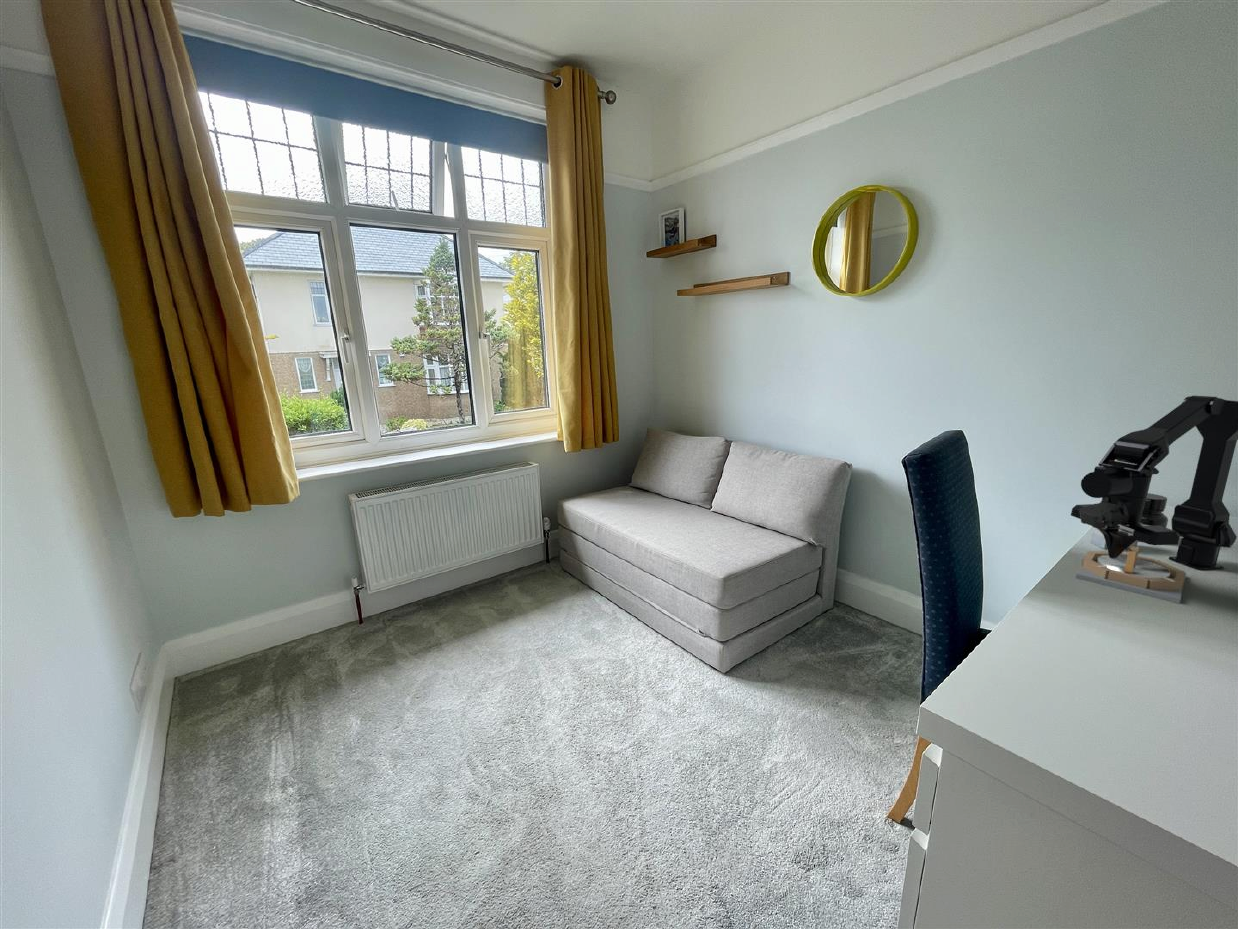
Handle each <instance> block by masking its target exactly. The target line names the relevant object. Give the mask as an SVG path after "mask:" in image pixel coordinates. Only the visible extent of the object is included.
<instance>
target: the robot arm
mask: <svg viewBox="0 0 1238 929" xmlns="http://www.w3.org/2000/svg"><path fill="white" fill-rule="evenodd" d="M1193 428H1196V429H1197V431H1198V432H1199V434H1200V435H1201V437H1202V443H1201V448H1200V452H1199V455H1198V461H1197V464H1196V470H1195V474H1194V477H1193V481H1192V482H1193V483H1192V486H1191V490H1190V495H1189V498H1188V499H1186V500H1185V501H1183V502H1182V503H1181V504H1176V505H1175V507H1174V511H1173V515H1172V517H1171V520H1170V522H1171V528H1168V527H1166V528H1165V527H1162V526H1159V525H1158V526H1142V525H1139V524H1140V523H1146V520H1147V518H1144V517H1142V514H1143V510H1144V506H1145V505H1151V501H1150V500H1147V499H1146V498H1147V494H1148V493H1149V489H1150V486H1151V481H1152V478H1153V475H1158V474H1159V473H1160V470H1159V469H1158V468H1156V467H1157V465H1159V464H1160V463H1161V462H1162V461H1163V460H1164V459H1165V458H1166V457H1167V456H1168V455H1169V454H1170V446H1171V445H1172V444H1173V443H1175V442H1176V441H1177V440H1179V439H1180V438H1181V437H1183V436H1184V435H1185V434H1186V433H1188V432H1189V431H1191V430H1192V429H1193ZM1237 442H1238V400H1228V399H1223V398H1221V397H1218V396H1208V395H1190V396H1187V397H1185V398H1184V399H1183V401H1182V402H1181V403H1180V404H1179V405H1178V406H1177V407H1175V408H1174V409H1172V410H1171V411H1170V412H1167V414H1165V415H1164V416H1162V417H1161V418H1159V419H1158V420H1157V421H1156V422H1154V423H1153V424H1151V425H1150V426H1149V427H1147V428H1144V429H1141V430H1140V429H1139V430H1136V431H1132V432H1129V433H1127V434H1125V435H1123V436H1121V437H1119V438H1118V439H1117V440H1116V441H1115V442H1114V443H1112V446H1110V448H1109V449H1108V451H1107V452H1105V454H1104V456H1103V457H1102V458H1101V459H1100V461H1099V462H1098V464H1097V466H1095V467H1094V471H1092V472H1088V473H1087V474H1085V475H1084V476H1083V478H1082V479H1081V480H1080V487H1081V490H1082V492H1084V494H1085V495H1086V496H1089V497H1091V498H1093V499H1101V500H1100V502H1097V503H1092V504H1091V503H1090V504H1088V503H1086V504H1085V503H1084V504H1076V505H1074V506H1073V507H1072V508H1071V512H1070V516H1071V517H1073V518H1077V519H1079V520H1080V522H1081V523H1082V524H1084V525H1088V526H1091V527H1092V528H1097V529H1098V530H1099V531H1100V532H1102V533H1103V535H1104V538H1105V541H1106V545H1107V549H1106V550H1107V551H1108V553H1109V557H1110V558H1112V559H1113V558H1117V557H1118V556H1119V555H1120V554H1121V553H1124V551H1126V550H1128V549H1127V548H1128V547H1129V546H1130V545H1131V544H1132V543H1134V542H1135V541H1136V540H1138V542H1141V543H1143V544H1147V545H1152V546H1170V545H1172V546H1173V545H1178V548H1177V552H1176V556H1168V559H1169V560H1171V561H1174V562H1177V563H1180V564H1183V565H1185V566H1188V567H1191V568H1193V569H1196V570H1217V569H1220V570H1221V569H1225V566H1224V565H1222V564H1219V563H1217V562H1218V558H1219V554H1220V550H1221V548H1232V546H1233V545H1234V544H1235V543H1236V540H1237V535H1236V533H1235V532H1234V530H1233V528H1232V526H1231V524H1230V515H1231V514H1230V512H1229V510H1228V509H1227V507H1226V506H1225V504H1224V503H1223V502H1224V501H1223V499H1224V494H1225V490H1226V486H1227V482H1228V478H1229V474H1230V469H1231V466H1232V462H1233V457H1234V453H1235V449H1236V445H1237ZM1128 525H1129V526H1128ZM1180 538H1181V539H1180ZM1179 542H1180V543H1179Z"/></svg>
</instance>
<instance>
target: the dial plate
mask: <svg viewBox="0 0 1238 929" xmlns="http://www.w3.org/2000/svg"><path fill="white" fill-rule="evenodd" d="M1103 555H1109V553H1108V550H1107V551H1102V550H1101V551H1100V550H1099V551H1098V550H1097V551H1094V550H1093V551H1091V550H1089V551H1087V552H1086V554H1085V555H1084V556H1083V558H1082V562H1081V566H1080V568H1079V570H1078V571H1077V573H1076V575H1075V578H1076V579H1080V580H1083V581H1087V582H1092V583H1095V584H1099V585H1103V586H1108V587H1113V588H1116V589H1120V590H1123V589H1124V591H1127V590H1128V591H1127V592H1132V593H1135V594H1141V595H1143V596H1148V597H1152V598H1156V599H1160V600H1165V601H1169V602H1172V603H1177V604H1180V603H1181V600H1182V593H1183V590H1184V584H1185V580H1186V575H1187V572H1185V570H1182V569H1180V568H1178V567H1175V566H1173V565H1170V564H1169V563H1166V562H1163V561H1162V560H1157V559H1155V558H1150V557H1146V556H1140V555H1138V557H1137V559H1142V560H1145V561H1149V562H1152V563H1155V564H1158V565H1160V566H1162V567H1164V568H1166V569H1168V570H1169V571H1170V577H1169V578H1167V577H1163V578H1144V577H1140V576H1136V575H1131V574H1127V573H1123V572H1118V571H1114V570H1111V569H1109V568H1107V566H1103V565H1101V564H1099V563H1097V560H1098V557H1100V556H1103ZM1127 555H1128V552H1127V553H1126V552H1122V553H1121V554H1120V555H1119V556H1126V557H1127Z"/></svg>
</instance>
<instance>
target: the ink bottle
mask: <svg viewBox="0 0 1238 929" xmlns="http://www.w3.org/2000/svg"><path fill="white" fill-rule="evenodd" d="M1146 499H1147V500H1150V501H1151V505H1145V506H1144V510H1143V514H1142V517H1144V518H1147V520H1146V523H1142V526H1158V525H1159V526H1162V527H1165V528H1168V527H1167V526H1168V523H1169V518H1168V516H1166V515H1165V514H1164V511H1165V510H1166V505H1167V501H1168V498H1167V497H1166V496H1163V495H1160V494H1156V493H1155V494H1154V493H1150V492H1148V494H1147V498H1146Z"/></svg>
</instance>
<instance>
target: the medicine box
mask: <svg viewBox="0 0 1238 929" xmlns="http://www.w3.org/2000/svg"><path fill="white" fill-rule="evenodd" d="M1139 525H1142V523H1140V524H1139ZM1128 526H1129V525H1128ZM1090 543H1091V544H1092V545H1094V546H1095V547H1098V548H1100V549H1102V550H1108V549H1107V545H1106V541H1105V538H1104V535H1103V533H1102V532H1100V531H1099V530H1098V529H1097V528H1094V527H1092V533H1091V538H1090ZM1138 543H1139V541H1138V540H1136V541H1135V542H1134V543H1132V544H1131V545H1130V546H1129V547H1128V548H1127V549H1126V550H1130V548H1131V547H1132V546H1133V547H1138Z"/></svg>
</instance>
